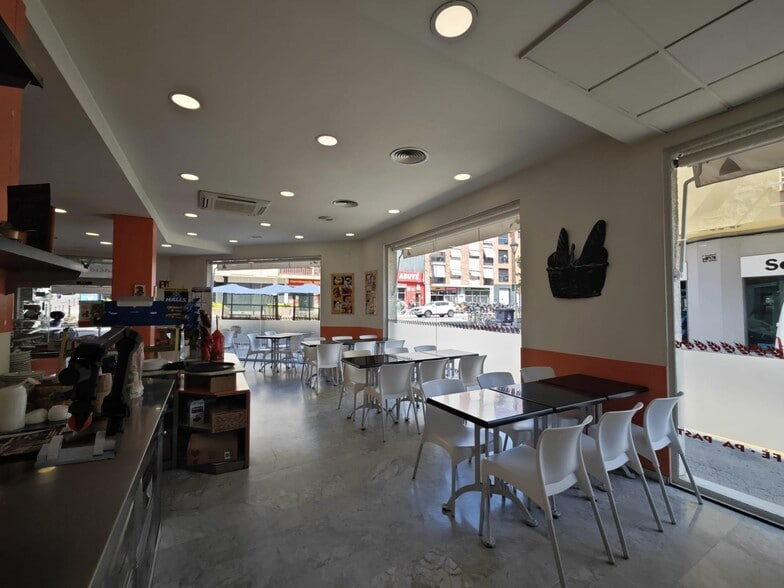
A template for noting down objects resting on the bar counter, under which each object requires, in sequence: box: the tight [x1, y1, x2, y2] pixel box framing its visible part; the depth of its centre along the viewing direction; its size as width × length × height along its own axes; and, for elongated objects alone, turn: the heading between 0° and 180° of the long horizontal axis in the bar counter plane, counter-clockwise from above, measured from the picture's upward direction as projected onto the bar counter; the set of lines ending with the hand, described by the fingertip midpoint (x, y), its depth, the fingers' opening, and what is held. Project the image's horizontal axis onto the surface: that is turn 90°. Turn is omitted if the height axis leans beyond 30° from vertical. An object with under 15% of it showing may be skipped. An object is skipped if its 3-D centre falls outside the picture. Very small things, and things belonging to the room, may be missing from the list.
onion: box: [67, 414, 93, 434], centre depth 116 cm, size 6×6×8 cm
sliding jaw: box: [93, 430, 123, 455], centre depth 120 cm, size 9×7×5 cm
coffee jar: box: [109, 373, 134, 404], centre depth 160 cm, size 10×8×19 cm
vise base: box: [33, 434, 116, 469], centre depth 116 cm, size 12×19×6 cm, turn 128°
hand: (79, 427), depth 116 cm, fingers closed on onion, 6 cm apart
